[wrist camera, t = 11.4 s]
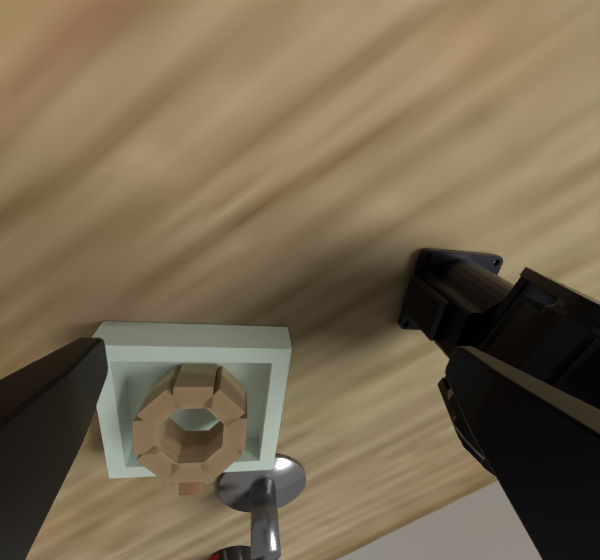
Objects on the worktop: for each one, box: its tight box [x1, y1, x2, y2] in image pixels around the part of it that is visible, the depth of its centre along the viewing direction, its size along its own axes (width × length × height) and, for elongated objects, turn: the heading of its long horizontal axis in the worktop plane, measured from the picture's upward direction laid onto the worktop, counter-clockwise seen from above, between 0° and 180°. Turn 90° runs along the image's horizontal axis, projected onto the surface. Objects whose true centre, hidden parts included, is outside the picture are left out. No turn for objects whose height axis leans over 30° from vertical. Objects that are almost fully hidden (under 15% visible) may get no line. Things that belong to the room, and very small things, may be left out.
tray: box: [92, 321, 292, 479], centre depth 23 cm, size 12×12×3 cm
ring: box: [133, 363, 247, 495], centre depth 22 cm, size 7×9×3 cm
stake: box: [218, 454, 306, 560], centre depth 28 cm, size 8×8×6 cm
